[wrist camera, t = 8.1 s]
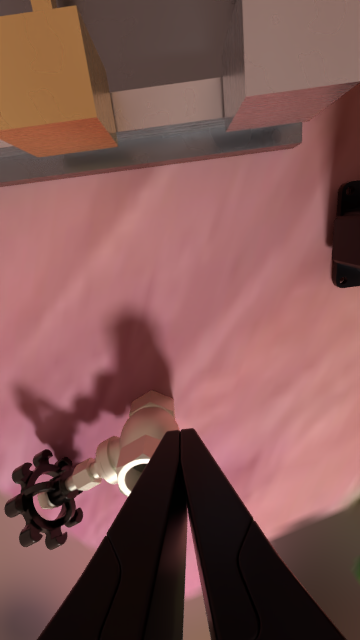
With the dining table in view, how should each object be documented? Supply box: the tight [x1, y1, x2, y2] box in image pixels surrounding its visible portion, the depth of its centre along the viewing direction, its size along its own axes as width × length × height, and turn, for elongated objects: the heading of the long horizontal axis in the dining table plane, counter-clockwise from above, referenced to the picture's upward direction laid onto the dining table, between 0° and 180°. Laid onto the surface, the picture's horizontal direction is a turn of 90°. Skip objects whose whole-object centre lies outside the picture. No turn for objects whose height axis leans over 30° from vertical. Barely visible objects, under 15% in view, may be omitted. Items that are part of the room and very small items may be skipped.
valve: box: [5, 390, 180, 550], centre depth 20 cm, size 7×7×12 cm
